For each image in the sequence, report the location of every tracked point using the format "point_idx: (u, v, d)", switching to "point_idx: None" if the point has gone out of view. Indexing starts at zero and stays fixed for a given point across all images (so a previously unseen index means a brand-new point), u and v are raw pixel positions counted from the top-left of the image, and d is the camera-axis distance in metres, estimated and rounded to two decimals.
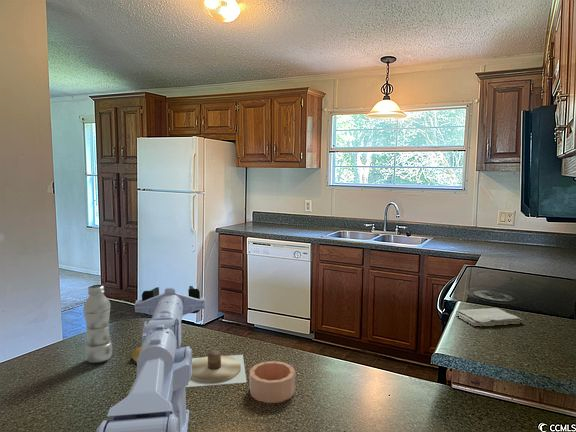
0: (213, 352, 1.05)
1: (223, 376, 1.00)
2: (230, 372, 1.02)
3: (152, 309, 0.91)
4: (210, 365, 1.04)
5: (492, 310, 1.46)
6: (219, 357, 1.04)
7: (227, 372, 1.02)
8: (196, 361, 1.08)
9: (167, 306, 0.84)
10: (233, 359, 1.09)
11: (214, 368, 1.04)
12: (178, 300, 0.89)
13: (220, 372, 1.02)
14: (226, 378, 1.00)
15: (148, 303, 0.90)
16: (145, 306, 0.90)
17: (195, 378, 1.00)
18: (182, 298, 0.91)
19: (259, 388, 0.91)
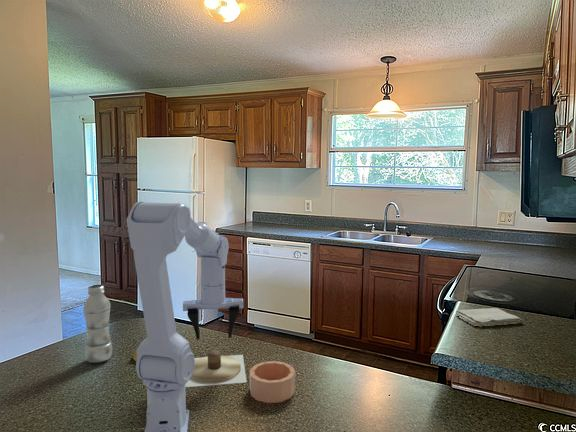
0: (213, 352, 1.05)
1: (223, 376, 1.00)
2: (230, 372, 1.02)
3: None
4: (210, 365, 1.04)
5: (492, 310, 1.46)
6: (219, 357, 1.04)
7: (227, 372, 1.02)
8: (196, 361, 1.08)
9: None
10: (233, 359, 1.09)
11: (214, 368, 1.04)
12: None
13: (220, 371, 1.02)
14: (226, 378, 1.00)
15: (194, 301, 1.03)
16: None
17: (195, 378, 1.00)
18: None
19: (259, 388, 0.91)
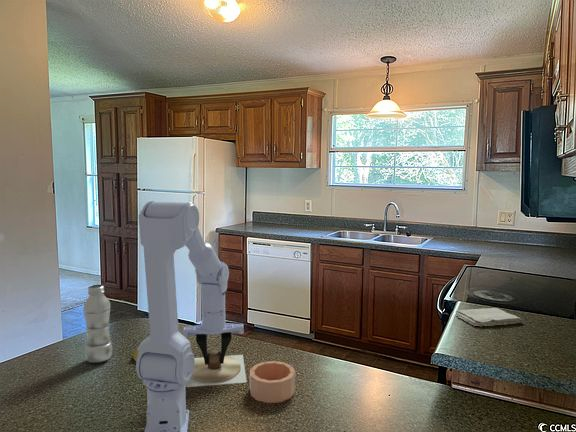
0: (213, 352, 1.05)
1: (223, 376, 1.00)
2: (230, 372, 1.02)
3: None
4: (210, 365, 1.04)
5: (492, 310, 1.46)
6: (219, 357, 1.04)
7: (227, 372, 1.02)
8: (196, 361, 1.08)
9: None
10: (233, 359, 1.09)
11: (214, 368, 1.04)
12: None
13: (220, 371, 1.02)
14: (226, 378, 1.00)
15: (195, 327, 1.04)
16: None
17: (195, 378, 1.00)
18: None
19: (259, 388, 0.91)
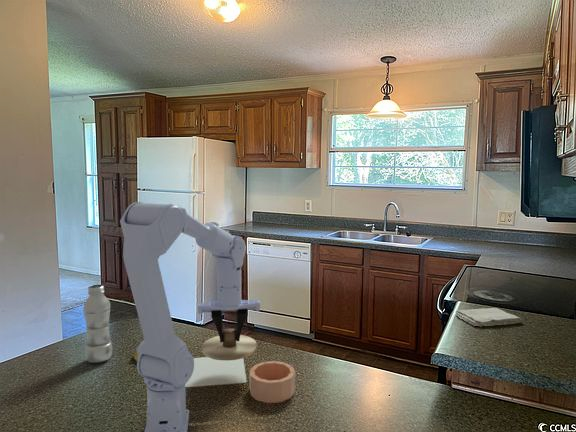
0: (228, 330, 1.02)
1: (240, 353, 0.97)
2: (247, 350, 0.99)
3: None
4: (225, 343, 1.00)
5: (491, 310, 1.46)
6: (235, 335, 1.01)
7: (243, 350, 0.99)
8: (210, 340, 1.04)
9: None
10: (248, 337, 1.06)
11: (230, 346, 1.00)
12: None
13: (236, 349, 0.99)
14: (243, 355, 0.97)
15: (210, 303, 1.00)
16: None
17: (211, 356, 0.96)
18: None
19: (259, 388, 0.91)
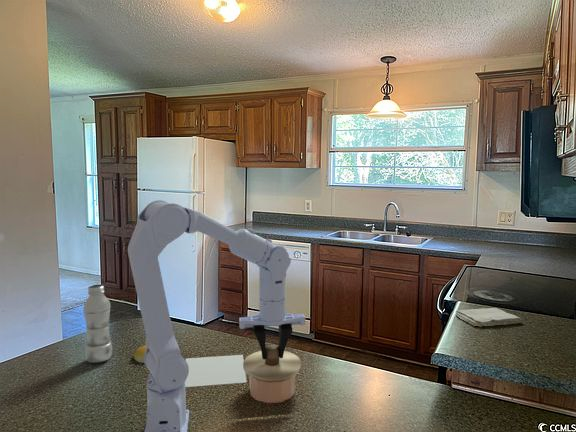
0: (271, 346, 0.95)
1: (286, 373, 0.90)
2: (292, 368, 0.92)
3: None
4: (269, 361, 0.93)
5: (491, 310, 1.46)
6: (278, 352, 0.94)
7: (289, 368, 0.92)
8: (249, 357, 0.98)
9: None
10: (290, 353, 0.99)
11: (273, 364, 0.94)
12: None
13: (281, 368, 0.92)
14: (290, 375, 0.90)
15: (251, 318, 0.94)
16: None
17: (256, 376, 0.90)
18: None
19: (259, 388, 0.91)
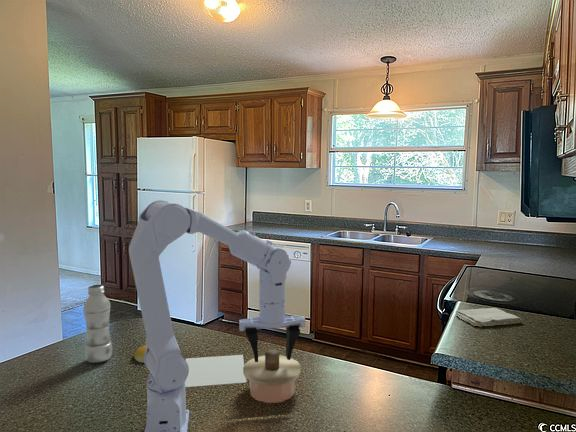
0: (270, 351, 0.95)
1: (286, 377, 0.90)
2: (292, 373, 0.93)
3: None
4: (269, 366, 0.94)
5: (491, 310, 1.46)
6: (278, 357, 0.94)
7: (289, 373, 0.93)
8: (249, 362, 0.98)
9: None
10: None
11: (273, 369, 0.94)
12: None
13: (281, 373, 0.93)
14: (290, 379, 0.90)
15: (251, 320, 0.94)
16: None
17: (256, 381, 0.90)
18: None
19: (259, 388, 0.91)
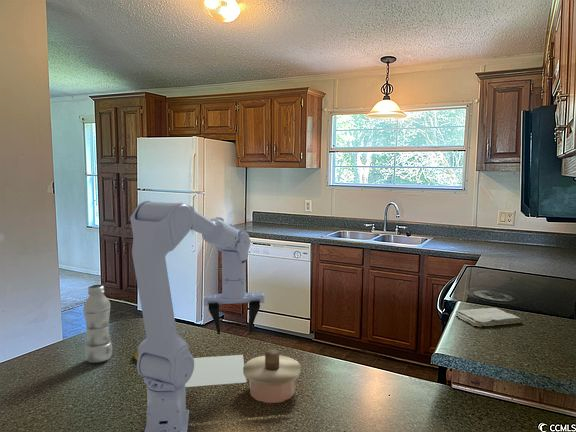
0: (270, 351, 0.95)
1: (286, 377, 0.90)
2: (292, 373, 0.93)
3: None
4: (269, 366, 0.94)
5: (491, 310, 1.46)
6: (278, 357, 0.94)
7: (289, 373, 0.93)
8: (249, 362, 0.98)
9: None
10: (290, 358, 1.00)
11: (273, 369, 0.94)
12: None
13: (281, 373, 0.93)
14: (290, 379, 0.90)
15: (215, 296, 1.03)
16: None
17: (256, 381, 0.90)
18: None
19: (259, 388, 0.91)
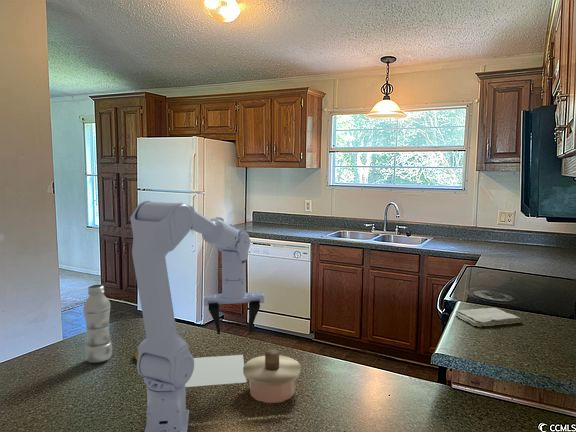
0: (270, 351, 0.95)
1: (286, 377, 0.90)
2: (292, 373, 0.93)
3: None
4: (269, 366, 0.94)
5: (491, 310, 1.46)
6: (278, 357, 0.94)
7: (289, 373, 0.93)
8: (249, 362, 0.98)
9: None
10: (290, 358, 1.00)
11: (273, 369, 0.94)
12: None
13: (281, 373, 0.93)
14: (290, 379, 0.90)
15: (215, 296, 1.03)
16: None
17: (256, 381, 0.90)
18: None
19: (259, 388, 0.91)
